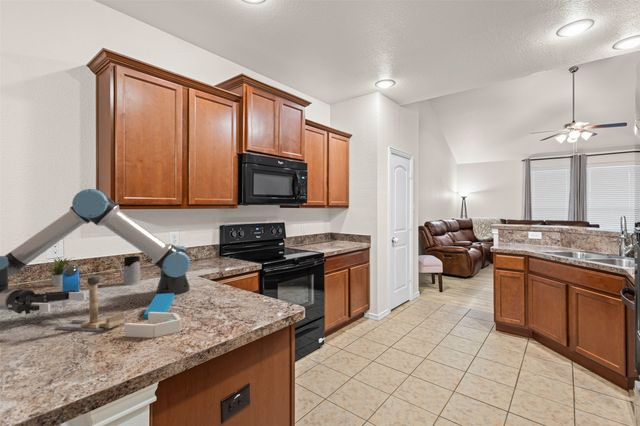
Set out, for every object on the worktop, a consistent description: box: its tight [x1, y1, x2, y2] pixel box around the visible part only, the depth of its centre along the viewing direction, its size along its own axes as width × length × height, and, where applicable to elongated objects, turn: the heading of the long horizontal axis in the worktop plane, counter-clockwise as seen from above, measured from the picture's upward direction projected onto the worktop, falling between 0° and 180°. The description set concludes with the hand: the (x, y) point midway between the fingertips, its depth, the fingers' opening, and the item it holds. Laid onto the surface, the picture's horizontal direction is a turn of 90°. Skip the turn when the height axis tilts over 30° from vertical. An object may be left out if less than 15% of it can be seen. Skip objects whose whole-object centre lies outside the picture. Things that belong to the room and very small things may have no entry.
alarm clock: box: [62, 264, 81, 292], centre depth 148 cm, size 13×6×15 cm, turn 38°
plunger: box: [80, 276, 125, 329], centre depth 108 cm, size 12×6×17 cm, turn 83°
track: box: [54, 319, 104, 333], centre depth 109 cm, size 18×7×1 cm, turn 83°
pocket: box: [124, 311, 183, 339], centre depth 105 cm, size 16×12×4 cm
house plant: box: [44, 256, 76, 287], centre depth 171 cm, size 14×14×16 cm
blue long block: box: [143, 293, 175, 320], centre depth 126 cm, size 7×7×18 cm
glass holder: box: [118, 255, 142, 286], centre depth 175 cm, size 9×14×15 cm, turn 71°
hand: (68, 301), depth 110 cm, fingers open, 13 cm apart
